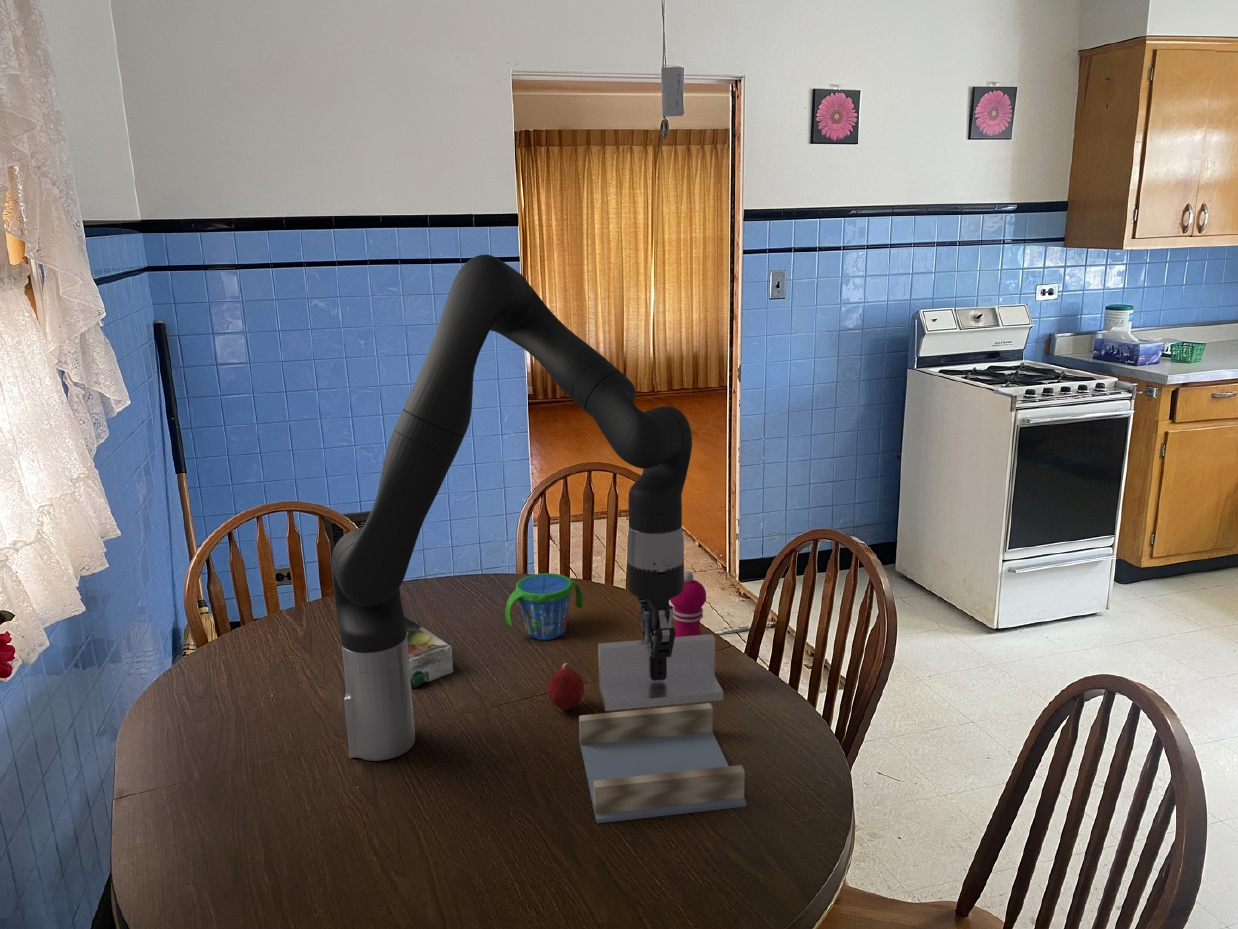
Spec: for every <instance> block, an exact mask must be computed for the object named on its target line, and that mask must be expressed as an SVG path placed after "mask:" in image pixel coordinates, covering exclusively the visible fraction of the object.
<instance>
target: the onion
mask: <svg viewBox="0 0 1238 929" xmlns="http://www.w3.org/2000/svg"><path fill="white" fill-rule="evenodd" d="M570 666H571V665H570V663H568V662H564V663H563V664H562V666H561V667H560V669H558V670H556V671H555V672H554V673H553V674H552V676H551V677H550V678H549V680H548V684H547V695H548V698H549V700H550V701H551V703H552V704H553V705H555V707H556V708H559V709H561V710H564V711H570V710H571V709H572V708H574V707H575V706H576V705H577V704H578V703H579V702H580V701H581V700H582V698H583V696H584V695H585V694H584V692H585V685H584V681H583V679H582V676H581V675H580V674H579V673H578V672H577V671H575V670H574V669H571V668H570Z"/></svg>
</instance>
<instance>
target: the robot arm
mask: <svg viewBox="0 0 1238 929" xmlns="http://www.w3.org/2000/svg"><path fill="white" fill-rule="evenodd" d="M490 332H495V333H497V334H499V335H501V336H502V337H505V338H506V339H508V340H509V341H511V342H513V343H515V344H516V345H518V346H519V347H520V348H522V349H523V350H525V351H526V352H527V353H528V354H529V355H531V356H532V357H533V358H534V360H536V361H537V362H538V363H539V364H540V365H541V366H542V367H543V368H544V369H545V371H546V372H547V374H548V375H549V376H550V377H551V379H552V381H554V383H555V384H556V385H557V386H558V387H559V388H560V389H561V390H562V392H564V393H565V395H567V396H568V397H569V398H570V399H571V400H572V401H573V402H574V403H576V404H577V406H578V407H580V408H581V409H582V410H583V411H585V413H587V414H588V415H589V416H590V417H591V418H593V420H594V421H595V423H596V424H597V427H598V428H599V429H600V432H601V433H602V434H603V436H604V438H605V439H606V441H607V442H608V444H609V445H610V446H611V448H612V449H613V451H614V452H615V453H616V455H617V456H618V457H619V458H620V459H621V460H623V462H625V463H627V464H628V465H630V466H632V467H634V468H637V469H641V470H642V473H641V475H640V476H639V478H638V479H637V480H636V481H635V482H634V483H632V485H631V487H630V488H629V490H628V491H629V492H628V505H627V506H628V533H627V543H626V544H627V546H626V548H627V550H626V551H627V552H626V553H627V554H626V556H627V589H628V591H629V593H630V594H631V595H633V596H634V597H637V598H638V602H639V607H638V608H639V611H640V620H641V621H640V623H641V630H642V631H641V635H642V636H643V638H644V640H647V641H648V642H649V654H650V678H651V680H653V681H657V680H664V679H666V677H667V657H671V654H672V649H673V644H674V639H675V634H676V631H675V627H672V625H673V624H672V623H673V622H672V621H673V620H674V618H673V607H674V606H673V605H670V599H672V598H673V597H676V596H678V595H679V594H680V593H681V592H682V591H683V589H684V573H685V541H684V533H683V524H682V523H683V514H682V513H683V500H682V494H683V491H684V487H685V483H686V480H687V476H688V471H689V465H690V461H691V456H692V449H693V433H692V429H691V426H690V423H689V420H688V418H687V417H686V415H685V414H684V412H682V411H681V410H680V409H678V408H676V407H674V406H671V405H670V406H669V405H666V406H665V405H663V406H657V407H655V408H652V409H649V410H644V411H643V410H641V409H640V408H638V406H637V405H636V404H635V403H634V402H635V398H636V394H637V393H636V392H637V391H636V387H635V385H634V384H633V381H631V380H630V378H628V377H627V376H626V375H625V374H624V373H623V372H621V370H619V369H618V368H617V367H616V366H615V365H614V364H612V363H611V362H610V361H609V360H608V359H607V358H605V357H604V356H603V355H602V354H601V353H600V352H598V351H597V350H596V349H595V348H593V347H592V346H591V345H589V344H588V343H587V342H586V341H584V340H583V339H581V338H580V337H579V336H577V335H576V334H575V333H574V331H572V330H570V329H569V328H568V327H567V326H566V325H565V324H564V323H563V322H562V321H561V320H560V319H559V318H558V317H557V316H556V315H555V314H554V313H553V312H552V311H551V310H550V308H549V307H548V306H547V305H546V304H545V302H544V301H543V300H542V299H541V297H540V296H539V295H538V293H537V292H536V291H535V289H534V288H533V287H532V286H531V285H530V283H529V281H528V280H527V279H526V277H524V275H523V274H521V273H520V272H519V271H517V270H516V269H514V268H513V267H511V266H510V265H509V264H508V263H506V262H504V261H503V260H501V259H500V258H498V257H497V256H494V255H491V254H480V255H479V254H478V255H476V256H474V257H472V258H470V259H469V260H467V261H466V262H465V263H464V264H463V265H462V266H461V267H460V269H459V270H458V272H457V274H456V275H455V277H454V279H453V281H452V284H451V286H450V289H449V291H448V295H447V298H446V301H445V304H444V307H443V310H442V313H441V316H440V319H439V322H438V325H437V329H436V330H435V334H434V337H433V340H432V342H431V345H430V347H429V350H428V351H427V355H426V357H425V359H424V362H423V364H422V365H421V369H420V370H419V373H418V376H417V378H416V380H415V383H414V385H413V388H412V389H411V392H410V394H409V396H408V398H407V399H406V401H405V404H404V406H403V409H402V411H401V412H400V414H399V417H398V420H397V422H396V424H395V426H394V429H393V430H392V433H391V436H390V439H389V441H388V444H387V447H386V452H385V455H384V461H383V464H382V470H381V474H380V479H379V485H378V490H377V494H376V497H375V500H374V504H373V506H372V508H371V509H370V510H371V511H370V513H369V515H368V516H367V519H366V521H365V523H364V525H363V527H358V528H355V529H351V530H350V531H348V532H346V533H345V534H344V535H342V536H341V537H340V538H339V540H337V542H336V544H335V545H334V548H333V551H332V553H331V558H330V559H331V560H330V563H331V564H330V565H331V576H332V585H333V586H332V587H333V592H334V602H335V611H336V617H337V624H338V630H339V636H340V643H341V644H340V645H341V652H342V664H343V673H344V682H345V694H344V698H343V703H344V704H343V705H344V714H345V722H346V733H347V734H346V735H347V740H348V741H347V742H348V743H347V744H348V754H349V758H350V759H352V758H353V759H354V758H359V759H362V760H365V761H370V762H371V761H373V762H376V761H377V762H378V761H386V760H390V759H394V758H397V757H400V756H401V755H403V754H405V753H407V752H408V751H409V750H410V749H411V748H412V747H413V746H414V745H415V742H416V732H415V728H416V727H415V719H414V707H413V694H412V688H411V680H410V668H409V656H408V644H407V633H406V621H405V617H406V616H405V613H404V608H403V604H402V603H403V602H402V598H401V589H400V588H401V586H402V585H403V582H404V579H405V577H406V574H407V571H408V568H409V565H410V561H411V559H412V556H413V553H414V550H415V546H416V543H417V541H418V538H419V535H420V532H421V529H422V526H423V524H424V522H425V519H426V518H427V516H428V513H429V511H430V509H431V507H432V505H433V504H434V502H435V499H436V497H437V495H438V493H439V491H440V489H441V487H442V485H443V483H444V480H445V478H446V476H447V474H448V472H449V469H450V467H451V465H452V464H453V462H454V460H455V458H456V456H457V454H458V451H459V449H460V447H461V445H462V443H463V440H464V438H465V436H466V433H467V431H468V429H469V425H470V422H471V416H472V411H473V410H472V408H473V394H474V392H473V390H474V377H475V376H474V374H475V368H476V365H477V361H478V359H479V355H480V352H481V350H482V348H483V345H484V343H485V342H486V339H487V337H488V335H489V333H490Z"/></svg>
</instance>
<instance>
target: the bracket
mask: <svg viewBox="0 0 1238 929" xmlns="http://www.w3.org/2000/svg"><path fill="white" fill-rule="evenodd" d="M597 645H598V646H597V648H598V649H597V650H598V651H597V652H598V655H597V656H598V659H597V660H598V691H599V694H600V697H601V701H602V704H603V707H604V711H605V712H610V711H620V710H622V711H623V710H630V709H631V710H632V709H641V708H651V707H652V708H653V707H661V706H662V707H663V706H664V707H665V706H672V705H673V706H675V705H683V704H695V703H705V702H714V701H715V702H716V701H724V690H723V688H722V687H721V685H720V683H719V681H718V680H717V677H716V675H715V674H716V670H715V669H716V637H715V636H714V634H713V633H712V634H709V633H708V634H701V635H696V636H684V637H675V639H674V644H673V649H672V654H671V657H667V677H666V679H664V680H657V681H653V680H651V678H650V654H649V642H648V641H647V640H645V639H640V640H639V639H637V640H626V641H612V642H603V643H602V642H600V643H597Z"/></svg>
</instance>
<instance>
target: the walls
mask: <svg viewBox="0 0 1238 929" xmlns="http://www.w3.org/2000/svg"><path fill="white" fill-rule="evenodd" d="M713 712H714V707H713V706H712V703H710V702H707V703H698V704H695V703H694V704H687V705H677V706H675V705H674V706H666V707H665V706H664V707H657V708H644V709H634V710H624V711H623V710H622V711H614V712H602V713H593V714H583V715H579V716H578V721H579V723H578V725H579V726H578V727H579V729H578V730H579V736H580V742H579V744H580V743H581V745H587V744H597V743H607V742H617V741H627V740H637V739H647V738H657V737H667V736H677V735H687V734H696V733H706V732H713V729H714V728H713V725H714V724H713V723H714V722H713V718H714V717H713V716H714V713H713ZM713 733H714V732H713ZM745 773H746V771H745V770H744V767H743V765H742V764H738V765H737V764H736V765H729V766H727V767H718V768H709V769H699V770H690V771H681V772H671V773H662V774H653V775H643V776H634V777H625V778H615V779H606V780H597V781H593V785H594V808H593V811H594V810H595V813H594V815H595V814H605V813H614V812H623V811H631V810H640V809H649V808H658V807H667V806H676V805H685V804H694V803H702V802H711V801H720V800H729V799H738V798H744V799H745V778H746V777H745V775H746V774H745Z"/></svg>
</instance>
